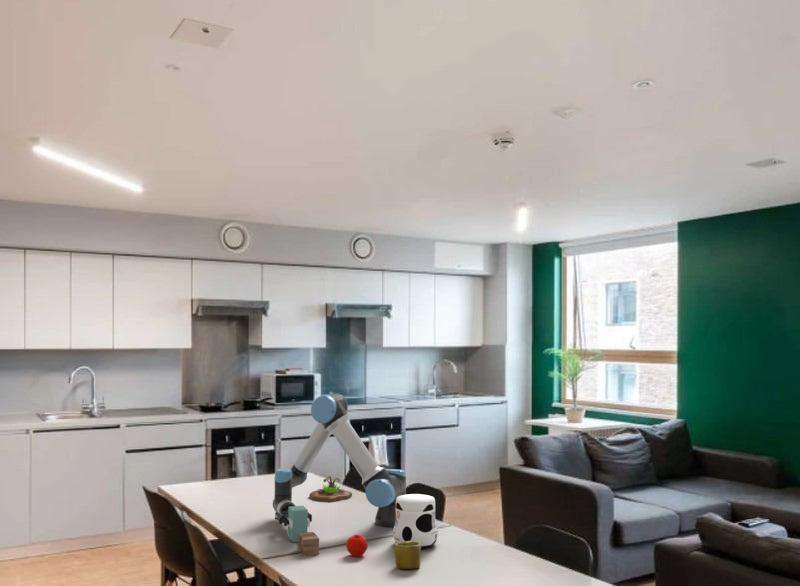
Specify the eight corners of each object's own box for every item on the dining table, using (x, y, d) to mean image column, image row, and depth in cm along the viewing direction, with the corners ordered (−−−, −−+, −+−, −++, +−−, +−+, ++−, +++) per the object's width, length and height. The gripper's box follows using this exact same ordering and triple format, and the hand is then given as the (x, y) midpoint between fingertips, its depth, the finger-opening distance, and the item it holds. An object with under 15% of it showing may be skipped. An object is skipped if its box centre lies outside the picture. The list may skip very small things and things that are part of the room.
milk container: (386, 541, 280) (387, 495, 281) (426, 537, 286) (426, 492, 287) (403, 553, 264) (403, 504, 265) (444, 548, 270) (444, 501, 271)
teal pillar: (307, 540, 279) (307, 509, 280) (292, 542, 277) (292, 511, 278) (302, 535, 286) (303, 505, 287) (288, 536, 284) (288, 506, 285)
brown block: (319, 554, 262) (319, 538, 262) (303, 556, 260) (303, 539, 260) (313, 547, 270) (313, 531, 271) (297, 549, 268) (297, 533, 268)
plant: (302, 498, 355) (302, 476, 355) (327, 492, 371) (327, 470, 371) (333, 504, 343) (333, 481, 344) (357, 497, 360) (357, 474, 360)
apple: (347, 552, 265) (347, 532, 265) (368, 552, 265) (368, 532, 265) (345, 558, 257) (345, 538, 257) (366, 559, 257) (366, 538, 257)
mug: (422, 567, 242) (415, 537, 245) (394, 575, 243) (387, 545, 246) (430, 564, 253) (423, 535, 256) (403, 571, 255) (396, 542, 258)
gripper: (309, 517, 303) (323, 531, 281) (265, 521, 296) (276, 536, 274) (309, 500, 303) (323, 512, 282) (265, 503, 296) (276, 516, 275)
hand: (300, 524), depth 278 cm, fingers closed on teal pillar, 6 cm apart
